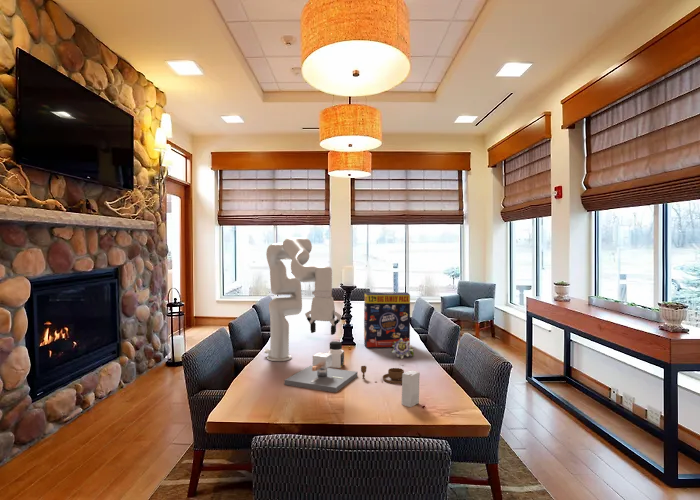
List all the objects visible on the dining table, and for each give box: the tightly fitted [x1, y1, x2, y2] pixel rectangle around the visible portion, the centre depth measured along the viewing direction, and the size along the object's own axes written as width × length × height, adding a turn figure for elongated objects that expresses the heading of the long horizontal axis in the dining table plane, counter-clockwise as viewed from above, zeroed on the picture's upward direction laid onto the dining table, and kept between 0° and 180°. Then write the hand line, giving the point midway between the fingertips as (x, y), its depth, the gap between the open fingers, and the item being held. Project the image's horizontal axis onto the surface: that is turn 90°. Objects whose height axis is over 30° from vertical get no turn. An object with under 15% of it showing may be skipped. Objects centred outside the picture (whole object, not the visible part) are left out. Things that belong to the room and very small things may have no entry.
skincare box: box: [401, 370, 421, 408], centre depth 166 cm, size 6×4×12 cm
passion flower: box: [390, 338, 415, 360], centre depth 236 cm, size 11×11×12 cm
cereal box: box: [363, 291, 411, 349], centre depth 260 cm, size 27×11×32 cm, turn 97°
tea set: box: [360, 365, 405, 385], centre depth 198 cm, size 18×20×6 cm
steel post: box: [317, 368, 327, 377], centre depth 194 cm, size 4×4×4 cm
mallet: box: [312, 352, 332, 371], centre depth 191 cm, size 6×11×5 cm, turn 158°
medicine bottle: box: [327, 340, 345, 369], centre depth 217 cm, size 7×7×12 cm
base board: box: [283, 365, 358, 393], centre depth 194 cm, size 24×24×2 cm
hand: (323, 333), depth 193 cm, fingers open, 9 cm apart
